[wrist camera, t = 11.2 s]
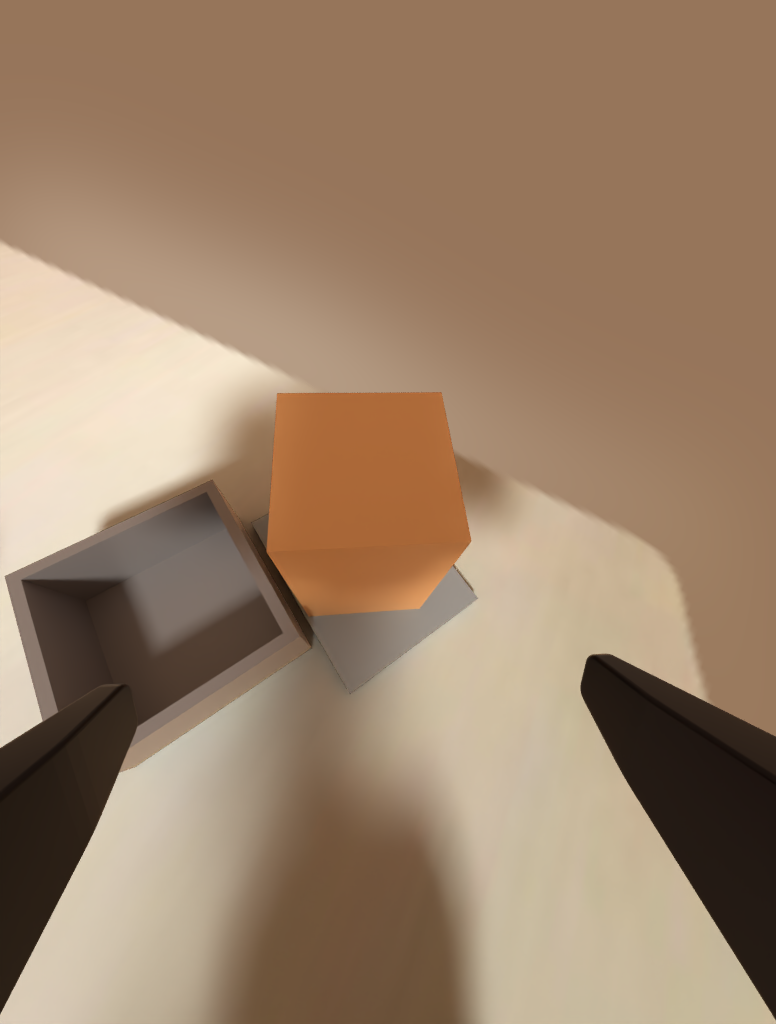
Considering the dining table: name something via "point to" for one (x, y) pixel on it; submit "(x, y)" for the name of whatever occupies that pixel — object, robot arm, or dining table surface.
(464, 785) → the dining table surface
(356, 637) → the mat
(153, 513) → the parts bin
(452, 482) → the orange box
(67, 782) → the robot arm
